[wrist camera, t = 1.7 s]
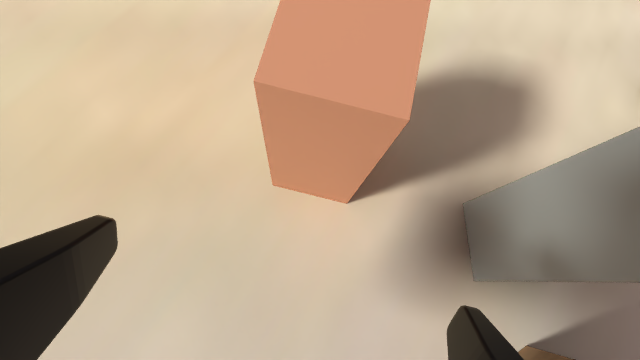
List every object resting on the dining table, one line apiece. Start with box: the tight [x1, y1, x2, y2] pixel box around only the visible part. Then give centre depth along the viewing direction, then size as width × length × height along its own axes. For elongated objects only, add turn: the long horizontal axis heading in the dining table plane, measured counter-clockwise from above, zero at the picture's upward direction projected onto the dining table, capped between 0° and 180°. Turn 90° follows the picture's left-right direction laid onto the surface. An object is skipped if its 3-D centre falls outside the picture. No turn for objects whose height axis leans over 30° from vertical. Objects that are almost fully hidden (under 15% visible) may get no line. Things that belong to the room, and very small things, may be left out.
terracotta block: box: [254, 0, 431, 204], centre depth 18 cm, size 5×5×12 cm
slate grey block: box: [463, 127, 640, 283], centre depth 17 cm, size 5×5×12 cm
